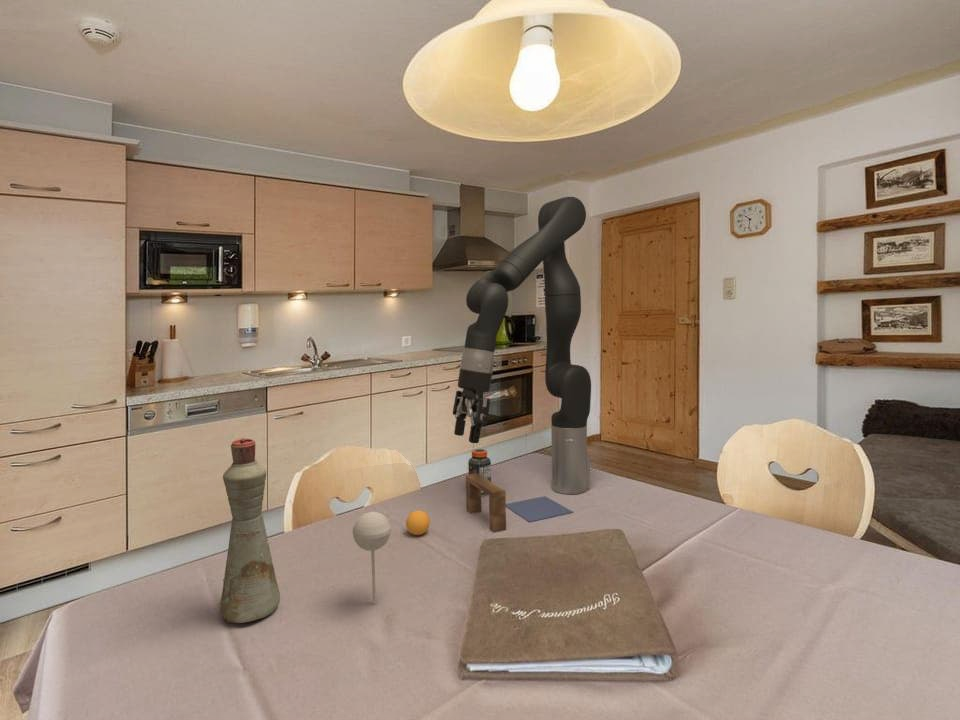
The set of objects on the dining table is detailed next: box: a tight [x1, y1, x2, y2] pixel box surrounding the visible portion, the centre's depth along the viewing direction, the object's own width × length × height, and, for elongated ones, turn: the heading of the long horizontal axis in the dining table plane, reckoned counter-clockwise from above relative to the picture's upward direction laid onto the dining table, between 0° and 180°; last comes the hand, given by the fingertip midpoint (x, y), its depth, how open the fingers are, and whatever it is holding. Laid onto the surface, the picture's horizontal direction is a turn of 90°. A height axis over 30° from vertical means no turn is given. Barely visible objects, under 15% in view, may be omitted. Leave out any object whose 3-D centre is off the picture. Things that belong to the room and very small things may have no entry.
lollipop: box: [352, 511, 392, 605], centre depth 81 cm, size 6×6×15 cm
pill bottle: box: [467, 448, 492, 496], centre depth 133 cm, size 6×6×11 cm
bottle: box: [219, 437, 281, 624], centre depth 79 cm, size 9×9×28 cm
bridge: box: [465, 473, 507, 533], centre depth 115 cm, size 3×14×9 cm, turn 26°
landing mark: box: [506, 495, 574, 523], centre depth 121 cm, size 12×12×1 cm
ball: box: [405, 509, 431, 536], centre depth 108 cm, size 5×5×5 cm
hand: (465, 438), depth 117 cm, fingers open, 8 cm apart
